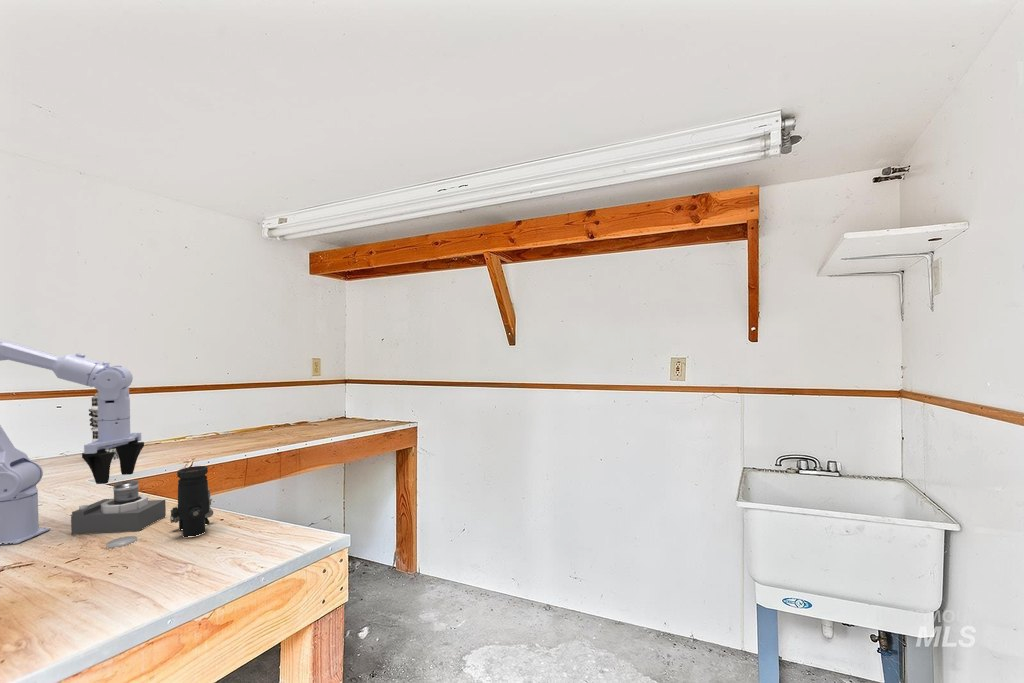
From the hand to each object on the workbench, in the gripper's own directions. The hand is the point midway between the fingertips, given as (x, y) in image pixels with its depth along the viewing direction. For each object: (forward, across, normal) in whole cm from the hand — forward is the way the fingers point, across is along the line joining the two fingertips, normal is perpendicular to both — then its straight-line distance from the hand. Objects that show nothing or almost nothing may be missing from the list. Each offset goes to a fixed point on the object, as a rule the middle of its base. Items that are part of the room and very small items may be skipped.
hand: (115, 478), depth 111 cm
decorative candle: (+11, +70, +54) cm, 89 cm away
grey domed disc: (+11, -12, -10) cm, 19 cm away
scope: (+10, -8, -22) cm, 25 cm away
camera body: (+10, -1, -3) cm, 11 cm away
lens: (+6, -1, -3) cm, 7 cm away
